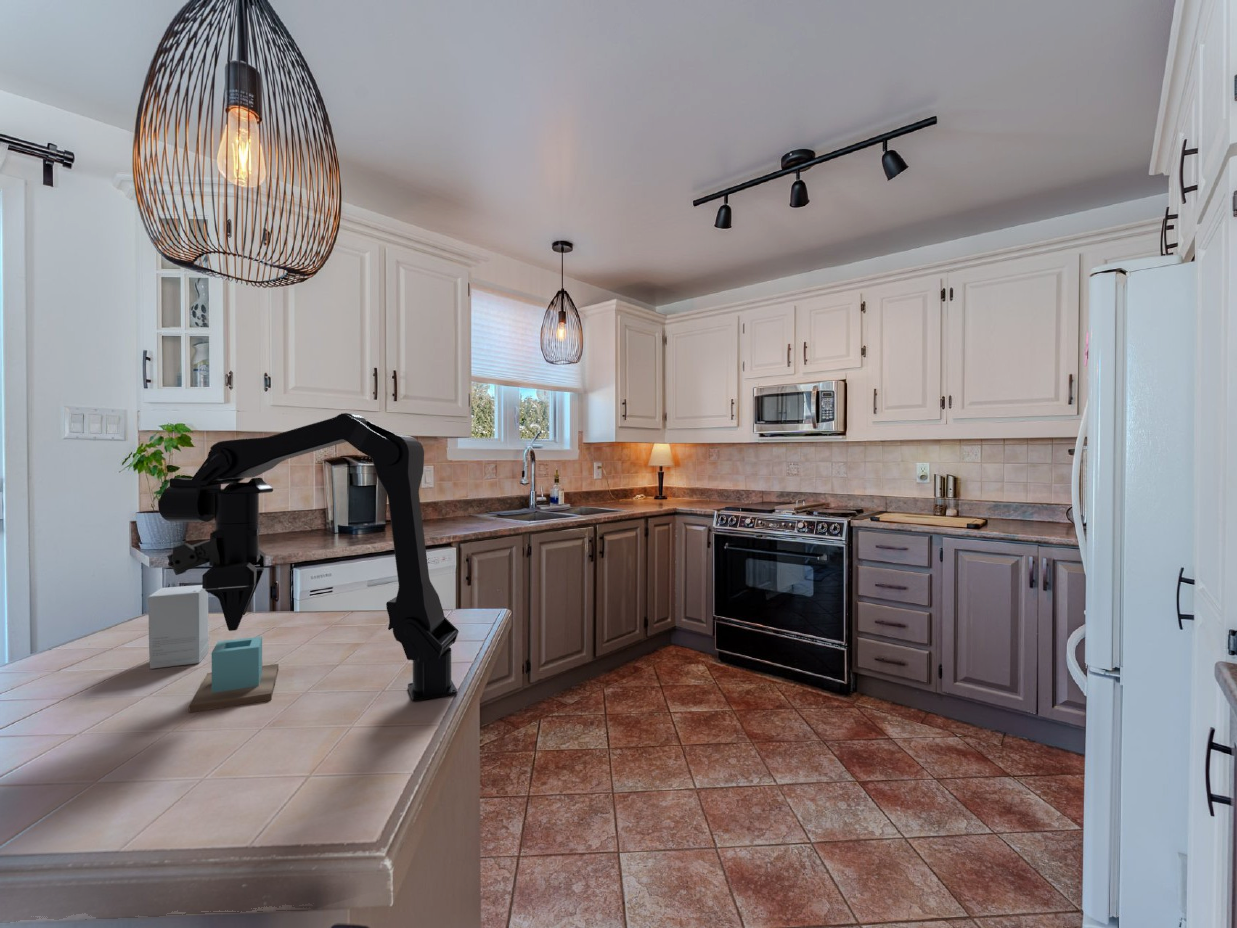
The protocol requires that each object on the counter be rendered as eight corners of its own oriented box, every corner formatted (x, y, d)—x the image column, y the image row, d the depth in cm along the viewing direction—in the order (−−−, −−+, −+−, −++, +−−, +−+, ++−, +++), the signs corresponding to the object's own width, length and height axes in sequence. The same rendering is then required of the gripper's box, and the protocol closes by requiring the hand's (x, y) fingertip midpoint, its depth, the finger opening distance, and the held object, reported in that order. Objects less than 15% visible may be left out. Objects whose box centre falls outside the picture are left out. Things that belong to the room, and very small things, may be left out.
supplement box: (210, 651, 109) (210, 583, 109) (199, 664, 102) (199, 591, 102) (161, 656, 106) (161, 586, 106) (147, 669, 100) (146, 595, 100)
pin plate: (271, 699, 87) (271, 666, 87) (189, 712, 83) (189, 677, 83) (278, 669, 100) (278, 640, 100) (207, 679, 95) (207, 648, 95)
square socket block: (258, 685, 90) (258, 646, 90) (211, 692, 87) (211, 652, 87) (262, 673, 95) (262, 636, 95) (217, 679, 93) (217, 641, 93)
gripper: (186, 518, 96) (186, 613, 96) (156, 531, 79) (157, 646, 79) (265, 516, 101) (265, 606, 101) (253, 527, 84) (253, 636, 84)
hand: (237, 622), depth 91 cm, fingers open, 9 cm apart
